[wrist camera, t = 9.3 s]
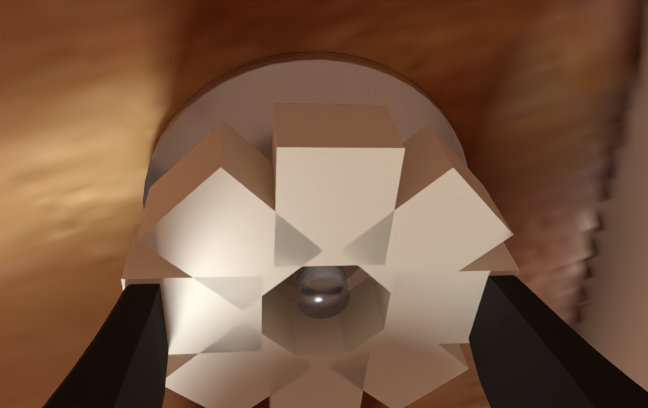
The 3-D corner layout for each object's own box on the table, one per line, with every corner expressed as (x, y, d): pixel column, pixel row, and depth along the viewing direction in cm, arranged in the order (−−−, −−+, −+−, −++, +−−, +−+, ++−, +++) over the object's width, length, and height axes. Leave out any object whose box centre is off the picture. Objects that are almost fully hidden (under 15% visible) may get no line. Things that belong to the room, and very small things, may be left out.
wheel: (448, 364, 17) (466, 416, 16) (159, 376, 16) (149, 434, 14) (524, 107, 12) (562, 148, 11) (116, 100, 11) (96, 146, 10)
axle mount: (432, 309, 19) (467, 407, 16) (162, 318, 18) (145, 425, 15) (496, 56, 14) (565, 129, 11) (126, 46, 13) (88, 124, 10)
